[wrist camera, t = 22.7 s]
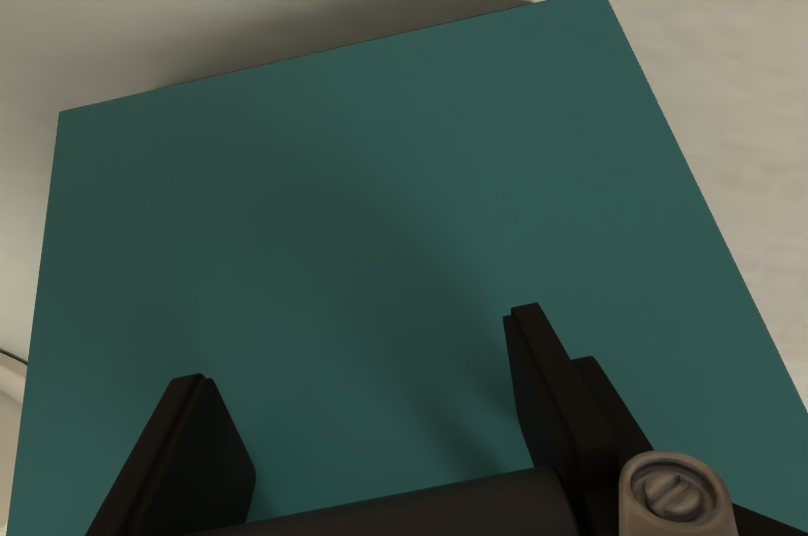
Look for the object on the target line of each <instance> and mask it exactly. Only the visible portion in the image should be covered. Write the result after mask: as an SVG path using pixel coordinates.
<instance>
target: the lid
mask: <svg viewBox="0 0 808 536" xmlns="http://www.w3.org/2000/svg"><path fill="white" fill-rule="evenodd" d="M535 302H538V303H539V305H540V307H541V308H542V310H543V312H544V314H545V315H546V317H547V319H548V321H549V322H550V324H551V326H552V328H553V329H554V331H555V333H556V335H557V336H558V338H559V340H560V342H561V343H562V345H563V347H564V349H565V350H566V352H567V354H568V356H569V357H570V359H571V360H572V359H577V358H582V357H586V356H593V357H594V358H595V359H596V360H597V361H598V363H599V364H600V366H601V368H602V369H603V371H604V372H605V374H606V375H607V377H608V378H609V380H610V382H611V383H612V385H613V386H614V388H615V389H616V391H617V392H618V394H619V396H620V397H621V399H622V400H623V402H624V403H625V405H626V406H627V408H628V409H629V411H630V413H631V414H632V416H633V417H634V419H635V420H636V422H637V423H638V425H639V427H640V428H641V430H642V431H643V433H644V434H645V436H646V437H647V439H648V441H649V442H650V444H651V445H652V447H653V448H654V450H669V451H674V452H679V453H684V454H687V455H689V456H691V457H694V458H696V459H698V460H700V461H702V462H703V463H705V464H706V465H708V466H709V467H710V468H712V469H713V470H714V471H715V472H716V473H717V474H718V475H719V476H720V478H721V479H722V480H723V481H724V483H725V485H726V487H727V490H728V492H729V495H730V499H731V502H732V503H735V504H737V505H740V506H742V507H745V508H747V509H750V510H752V511H755V512H757V513H760V514H762V515H765V516H767V517H770V518H772V519H775V520H777V521H780V522H782V523H785V524H787V525H790V526H792V527H795V528H797V529H800V530H802V531H805V532H807V533H808V412H807V410H806V408H805V406H804V404H803V402H802V400H801V398H800V396H799V394H798V392H797V390H796V388H795V385H794V383H793V381H792V379H791V377H790V375H789V373H788V371H787V369H786V367H785V365H784V363H783V361H782V359H781V357H780V354H779V352H778V350H777V348H776V346H775V344H774V342H773V340H772V338H771V336H770V334H769V332H768V330H767V328H766V325H765V323H764V321H763V319H762V317H761V315H760V313H759V311H758V309H757V307H756V305H755V303H754V301H753V299H752V297H751V294H750V292H749V290H748V288H747V286H746V284H745V282H744V280H743V278H742V276H741V274H740V272H739V270H738V268H737V265H736V263H735V261H734V259H733V257H732V255H731V253H730V251H729V249H728V247H727V245H726V243H725V241H724V239H723V237H722V234H721V232H720V230H719V228H718V226H717V224H716V222H715V220H714V218H713V216H712V214H711V212H710V210H709V208H708V206H707V203H706V201H705V199H704V197H703V195H702V193H701V191H700V189H699V187H698V185H697V183H696V181H695V179H694V177H693V174H692V172H691V170H690V168H689V166H688V164H687V162H686V160H685V158H684V156H683V154H682V152H681V150H680V148H679V146H678V143H677V141H676V139H675V137H674V135H673V133H672V131H671V129H670V127H669V125H668V123H667V121H666V119H665V117H664V114H663V112H662V110H661V108H660V106H659V104H658V102H657V100H656V98H655V96H654V94H653V92H652V90H651V88H650V86H649V83H648V81H647V79H646V77H645V75H644V73H643V71H642V69H641V67H640V65H639V63H638V61H637V59H636V57H635V54H634V52H633V50H632V48H631V46H630V44H629V42H628V40H627V38H626V36H625V34H624V32H623V30H622V28H621V26H620V23H619V21H618V19H617V17H616V15H615V13H614V11H613V9H612V7H611V5H610V3H609V1H608V0H546V1H542V2H537V3H533V4H529V5H524V6H520V7H516V8H511V9H507V10H502V11H498V12H494V13H489V14H485V15H481V16H476V17H472V18H467V19H463V20H459V21H454V22H450V23H446V24H441V25H437V26H432V27H428V28H424V29H419V30H415V31H410V32H406V33H402V34H397V35H393V36H389V37H384V38H380V39H375V40H371V41H367V42H362V43H358V44H354V45H349V46H345V47H340V48H336V49H332V50H327V51H323V52H319V53H314V54H310V55H305V56H301V57H297V58H292V59H288V60H284V61H279V62H275V63H270V64H266V65H262V66H257V67H253V68H249V69H244V70H240V71H235V72H231V73H227V74H222V75H218V76H214V77H209V78H205V79H200V80H196V81H192V82H187V83H183V84H178V85H174V86H170V87H165V88H161V89H157V90H152V91H148V92H143V93H139V94H135V95H130V96H126V97H122V98H117V99H113V100H108V101H104V102H100V103H95V104H91V105H87V106H82V107H78V108H73V109H69V110H65V111H61V112H60V113H59V119H58V127H57V135H56V143H55V151H54V159H53V167H52V175H51V183H50V191H49V198H48V206H47V214H46V222H45V230H44V238H43V246H42V254H41V262H40V270H39V278H38V286H37V294H36V302H35V310H34V318H33V326H32V333H31V341H30V349H29V357H28V365H27V373H26V381H25V389H24V397H23V405H22V413H21V421H20V429H19V437H18V445H17V453H16V460H15V468H14V476H13V484H12V492H11V500H10V508H9V516H8V524H7V532H6V536H85V534H86V532H87V530H88V529H89V527H90V525H91V523H92V521H93V520H94V518H95V516H96V514H97V512H98V511H99V509H100V507H101V505H102V503H103V502H104V500H105V498H106V496H107V494H108V493H109V491H110V489H111V487H112V485H113V484H114V482H115V480H116V478H117V476H118V475H119V473H120V471H121V469H122V467H123V466H124V464H125V462H126V460H127V458H128V457H129V455H130V453H131V451H132V449H133V448H134V446H135V444H136V442H137V440H138V439H139V437H140V435H141V433H142V431H143V430H144V428H145V426H146V424H147V422H148V421H149V419H150V417H151V415H152V413H153V412H154V410H155V408H156V406H157V404H158V403H159V401H160V399H161V397H162V395H163V394H164V392H165V390H166V388H167V386H168V385H169V383H170V381H171V380H172V379H174V378H178V377H183V376H187V375H192V374H197V373H201V374H203V375H204V376H205V378H212V379H213V380H214V382H215V384H216V386H217V388H218V390H219V392H220V394H221V396H222V399H223V401H224V403H225V405H226V407H227V409H228V411H229V414H230V416H231V418H232V420H233V422H234V424H235V426H236V428H237V431H238V433H239V435H240V437H241V439H242V441H243V443H244V446H245V448H246V450H247V452H248V454H249V456H250V458H251V460H252V463H253V465H254V467H255V472H256V483H255V487H254V491H253V495H252V499H251V503H250V507H249V511H248V515H247V519H246V523H243V524H238V525H233V526H228V527H222V528H217V529H212V530H207V531H202V532H197V533H191V534H186V535H182V536H581V535H580V532H579V528H578V525H577V521H576V518H575V515H574V512H573V509H572V506H571V503H570V500H569V497H568V495H567V492H566V490H565V487H564V485H563V483H562V480H561V478H560V476H559V475H558V473H557V471H556V470H555V469H554V467H553V466H551V465H543V466H538V467H534V465H533V462H532V459H531V457H530V454H529V451H528V448H527V445H526V442H525V440H524V437H523V434H522V431H521V428H520V424H519V421H518V416H517V410H516V404H515V397H514V391H513V384H512V378H511V371H510V365H509V358H508V351H507V345H506V338H505V332H504V325H503V316H507V315H511V307H516V306H521V305H526V304H530V303H535Z"/></svg>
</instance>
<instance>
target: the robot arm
mask: <svg viewBox="0 0 808 536" xmlns="http://www.w3.org/2000/svg"><path fill="white" fill-rule="evenodd" d="M503 325H504V332H505V338H506V345H507V351H508V358H509V365H510V371H511V378H512V384H513V391H514V397H515V404H516V410H517V416H518V421H519V424H520V428H521V431H522V434H523V437H524V440H525V442H526V445H527V448H528V451H529V454H530V457H531V459H532V462H533V465H534V467H538V466H543V465H551V466H553V467H554V469H555V470H556V471H557V473H558V475H559V476H560V478H561V480H562V483H563V485H564V487H565V490H566V492H567V495H568V497H569V500H570V503H571V506H572V509H573V512H574V515H575V518H576V521H577V525H578V528H579V532H580V535H581V536H808V533H807V532H805V531H802V530H800V529H797V528H795V527H792V526H790V525H787V524H785V523H782V522H780V521H777V520H775V519H772V518H770V517H767V516H765V515H762V514H760V513H757V512H755V511H752V510H750V509H747V508H745V507H742V506H740V505H737V504H735V503H732V502H731V499H730V495H729V492H728V490H727V487H726V485H725V483H724V481H723V480H722V479H721V478H720V476H719V475H718V474H717V473H716V472H715V471H714V470H713V469H712V468H710V467H709V466H708V465H706V464H705V463H703V462H702V461H700V460H698V459H696V458H694V457H691V456H689V455H687V454H684V453H679V452H674V451H669V450H654V448H653V447H652V445H651V444H650V442H649V441H648V439H647V437H646V436H645V434H644V433H643V431H642V430H641V428H640V427H639V425H638V423H637V422H636V420H635V419H634V417H633V416H632V414H631V413H630V411H629V409H628V408H627V406H626V405H625V403H624V402H623V400H622V399H621V397H620V396H619V394H618V392H617V391H616V389H615V388H614V386H613V385H612V383H611V382H610V380H609V378H608V377H607V375H606V374H605V372H604V371H603V369H602V368H601V366H600V364H599V363H598V361H597V360H596V359H595V358H594V357H593V356H586V357H582V358H577V359H572V360H571V359H570V357H569V356H568V354H567V352H566V350H565V349H564V347H563V345H562V343H561V342H560V340H559V338H558V336H557V335H556V333H555V331H554V329H553V328H552V326H551V324H550V322H549V321H548V319H547V317H546V315H545V314H544V312H543V310H542V308H541V307H540V305H539V303H538V302H535V303H530V304H526V305H521V306H516V307H511V315H507V316H503ZM26 373H27V365H25V364H24V363H22V362H20V361H18V360H16V359H13V358H11V357H9V356H7V355H5V354H3V353H0V531H1V529H2V528H3V527H4V525H5V524H6V523H7V521H8V516H9V508H10V500H11V492H12V484H13V476H14V468H15V460H16V453H17V445H18V437H19V429H20V421H21V413H22V405H23V397H24V389H25V381H26ZM255 483H256V472H255V467H254V465H253V463H252V460H251V458H250V456H249V454H248V452H247V450H246V448H245V446H244V443H243V441H242V439H241V437H240V435H239V433H238V431H237V428H236V426H235V424H234V422H233V420H232V418H231V416H230V414H229V411H228V409H227V407H226V405H225V403H224V401H223V399H222V396H221V394H220V392H219V390H218V388H217V386H216V384H215V382H214V380H213V379H212V378H205V376H204V375H203V374H201V373H197V374H192V375H187V376H183V377H178V378H174V379H172V380H171V381H170V383H169V385H168V386H167V388H166V390H165V392H164V394H163V395H162V397H161V399H160V401H159V403H158V404H157V406H156V408H155V410H154V412H153V413H152V415H151V417H150V419H149V421H148V422H147V424H146V426H145V428H144V430H143V431H142V433H141V435H140V437H139V439H138V440H137V442H136V444H135V446H134V448H133V449H132V451H131V453H130V455H129V457H128V458H127V460H126V462H125V464H124V466H123V467H122V469H121V471H120V473H119V475H118V476H117V478H116V480H115V482H114V484H113V485H112V487H111V489H110V491H109V493H108V494H107V496H106V498H105V500H104V502H103V503H102V505H101V507H100V509H99V511H98V512H97V514H96V516H95V518H94V520H93V521H92V523H91V525H90V527H89V529H88V530H87V532H86V534H85V536H182V535H186V534H191V533H197V532H202V531H207V530H212V529H217V528H222V527H228V526H233V525H238V524H243V523H246V519H247V515H248V511H249V507H250V503H251V499H252V495H253V491H254V487H255Z"/></svg>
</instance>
